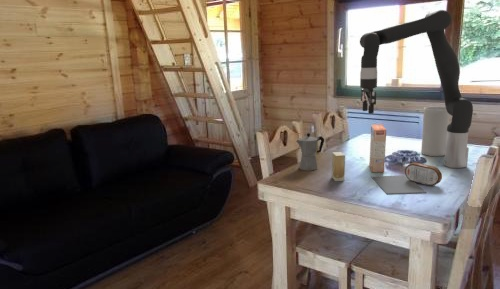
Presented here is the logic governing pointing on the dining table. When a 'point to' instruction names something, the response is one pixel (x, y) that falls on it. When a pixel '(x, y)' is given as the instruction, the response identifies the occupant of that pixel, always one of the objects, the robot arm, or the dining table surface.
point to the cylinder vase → (434, 131)
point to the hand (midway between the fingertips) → (367, 112)
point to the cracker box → (377, 148)
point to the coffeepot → (309, 151)
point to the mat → (397, 185)
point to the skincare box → (338, 166)
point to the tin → (423, 174)
